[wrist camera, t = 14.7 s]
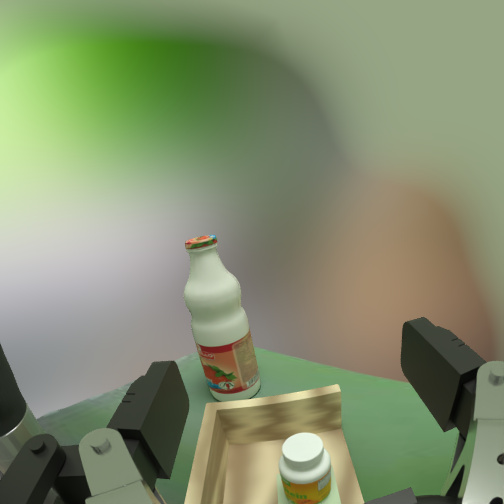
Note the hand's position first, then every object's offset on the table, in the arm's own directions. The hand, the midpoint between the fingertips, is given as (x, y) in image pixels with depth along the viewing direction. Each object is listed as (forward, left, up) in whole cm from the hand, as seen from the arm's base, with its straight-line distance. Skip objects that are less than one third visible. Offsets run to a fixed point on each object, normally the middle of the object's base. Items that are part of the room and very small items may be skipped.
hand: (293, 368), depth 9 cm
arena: (-3, +14, -28) cm, 31 cm away
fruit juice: (-10, +36, -28) cm, 47 cm away
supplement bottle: (0, +11, -27) cm, 29 cm away
